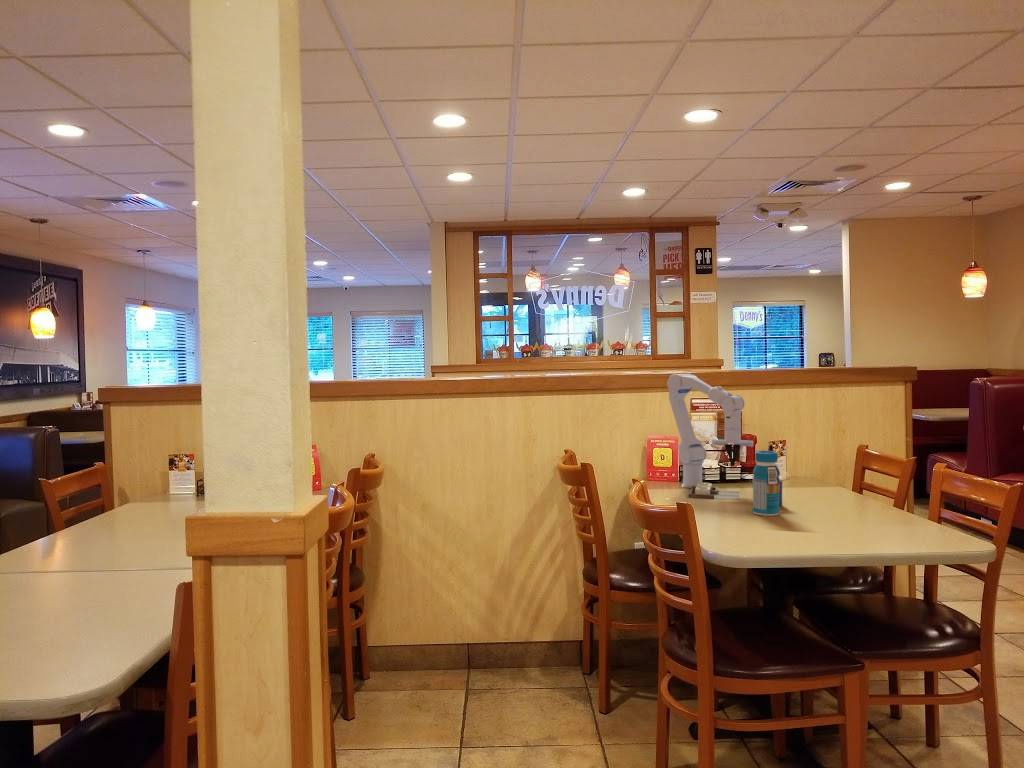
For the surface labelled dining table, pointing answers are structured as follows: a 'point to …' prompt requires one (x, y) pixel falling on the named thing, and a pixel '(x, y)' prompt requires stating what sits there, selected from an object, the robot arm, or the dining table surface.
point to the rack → (714, 494)
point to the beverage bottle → (766, 484)
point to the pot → (702, 490)
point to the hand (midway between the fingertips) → (732, 465)
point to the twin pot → (705, 485)
